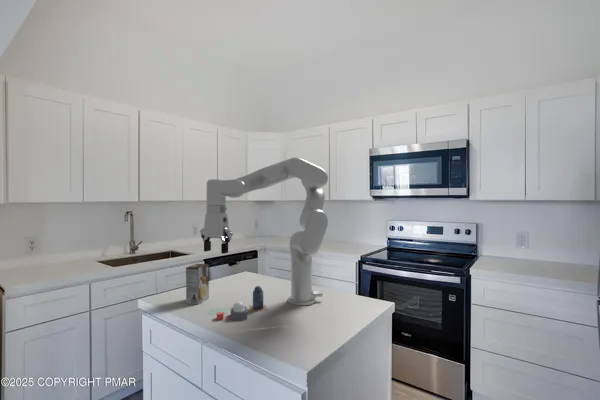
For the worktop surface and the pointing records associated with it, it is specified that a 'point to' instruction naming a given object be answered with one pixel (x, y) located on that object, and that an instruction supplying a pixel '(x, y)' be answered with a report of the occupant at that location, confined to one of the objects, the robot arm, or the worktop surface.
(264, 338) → the worktop surface
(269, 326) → the worktop surface
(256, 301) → the pawn
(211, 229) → the robot arm
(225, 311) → the game board
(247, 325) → the worktop surface
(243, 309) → the popper dome
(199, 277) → the coffee box
